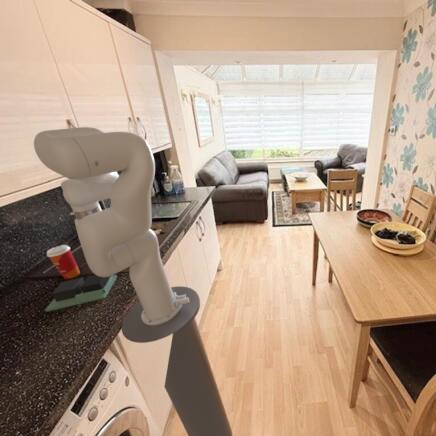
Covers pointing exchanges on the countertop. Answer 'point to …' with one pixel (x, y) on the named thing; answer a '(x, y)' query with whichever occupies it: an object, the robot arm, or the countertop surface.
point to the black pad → (93, 283)
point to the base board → (83, 296)
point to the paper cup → (64, 261)
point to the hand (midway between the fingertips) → (108, 255)
